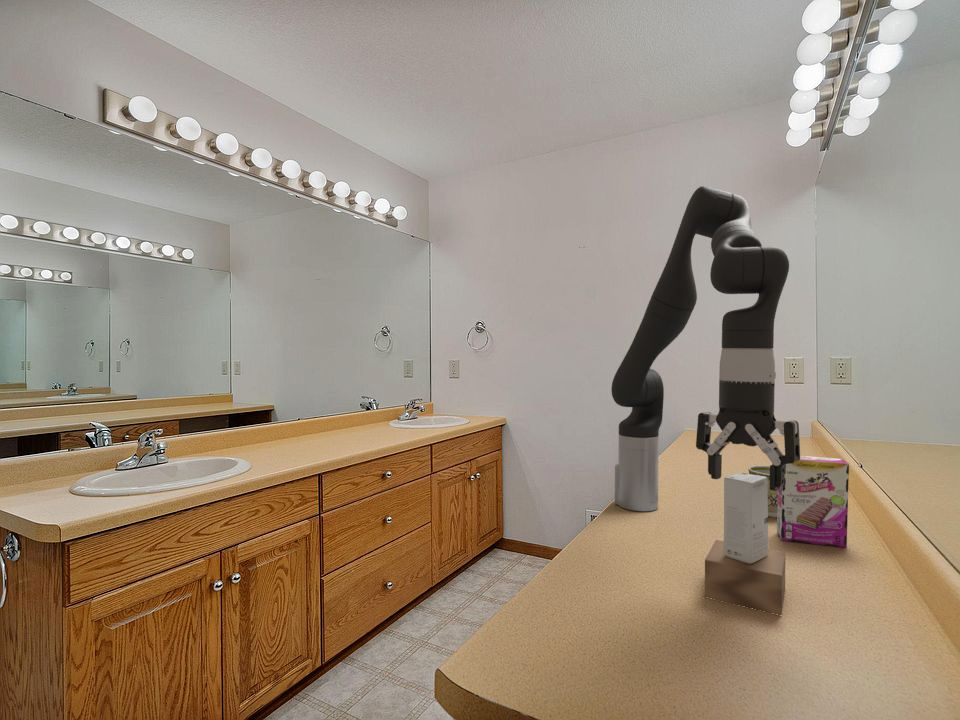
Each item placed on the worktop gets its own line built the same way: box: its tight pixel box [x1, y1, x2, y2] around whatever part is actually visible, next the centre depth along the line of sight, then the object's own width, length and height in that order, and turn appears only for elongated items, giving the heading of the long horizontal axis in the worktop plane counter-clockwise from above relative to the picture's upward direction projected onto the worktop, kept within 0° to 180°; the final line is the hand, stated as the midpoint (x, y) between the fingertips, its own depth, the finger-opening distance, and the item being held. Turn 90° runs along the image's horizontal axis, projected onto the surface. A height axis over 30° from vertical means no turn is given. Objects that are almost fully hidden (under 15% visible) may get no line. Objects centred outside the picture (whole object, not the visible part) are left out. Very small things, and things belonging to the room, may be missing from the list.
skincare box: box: [723, 472, 769, 564], centre depth 78 cm, size 6×4×12 cm
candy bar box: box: [776, 455, 850, 548], centre depth 101 cm, size 11×5×16 cm, turn 71°
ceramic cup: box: [748, 465, 778, 518], centre depth 117 cm, size 13×10×10 cm
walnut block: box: [704, 539, 786, 616], centre depth 78 cm, size 10×10×6 cm
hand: (744, 483), depth 78 cm, fingers open, 8 cm apart
